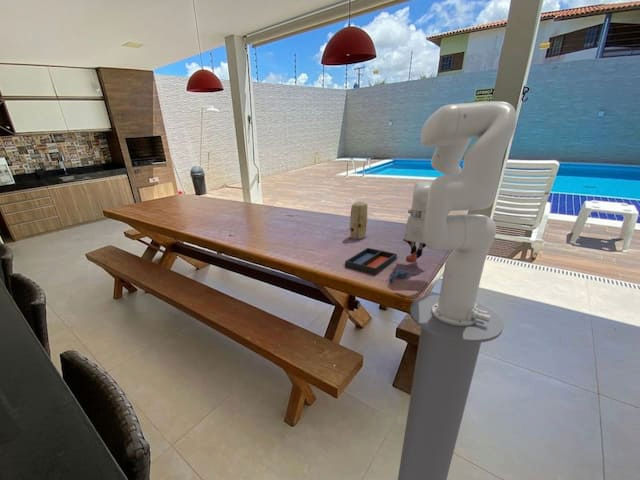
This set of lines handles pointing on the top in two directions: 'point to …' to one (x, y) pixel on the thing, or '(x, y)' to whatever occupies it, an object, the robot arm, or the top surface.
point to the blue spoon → (397, 275)
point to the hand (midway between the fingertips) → (415, 256)
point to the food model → (358, 220)
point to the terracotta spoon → (412, 257)
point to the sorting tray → (370, 261)
